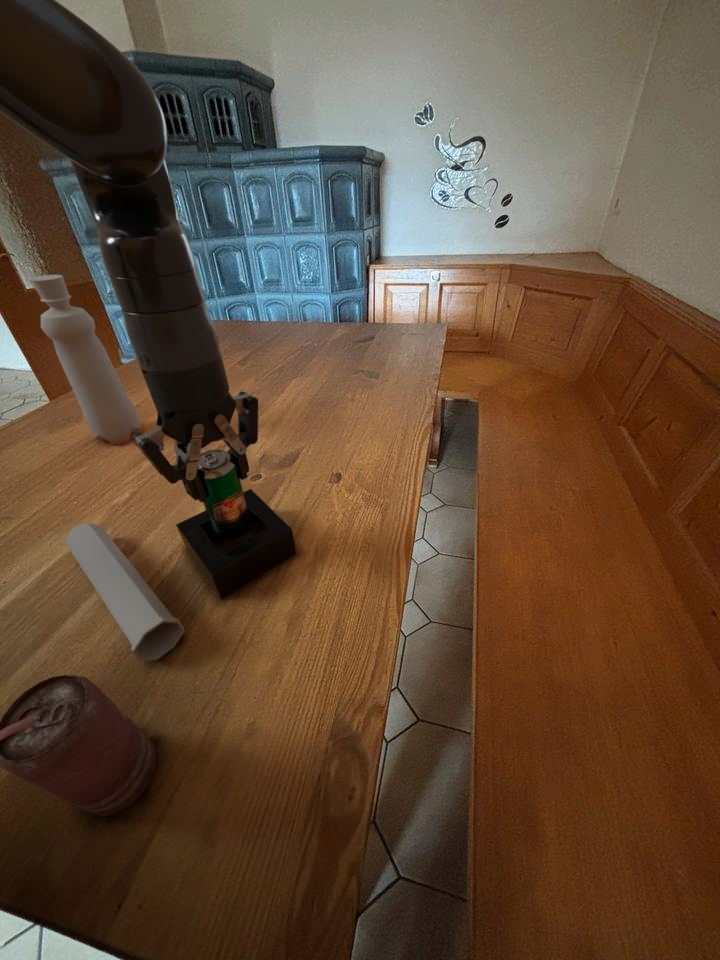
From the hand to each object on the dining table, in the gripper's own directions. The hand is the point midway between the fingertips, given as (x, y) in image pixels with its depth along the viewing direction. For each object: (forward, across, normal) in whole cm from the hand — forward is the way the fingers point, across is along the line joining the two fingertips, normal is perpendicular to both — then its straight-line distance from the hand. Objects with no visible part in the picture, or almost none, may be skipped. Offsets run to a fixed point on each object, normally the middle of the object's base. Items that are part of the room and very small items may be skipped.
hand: (221, 486), depth 48 cm
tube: (+13, +14, -6) cm, 20 cm away
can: (+13, +22, +14) cm, 30 cm away
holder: (+12, 0, 0) cm, 12 cm away
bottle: (+13, -1, -46) cm, 48 cm away
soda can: (+8, 0, 0) cm, 8 cm away
